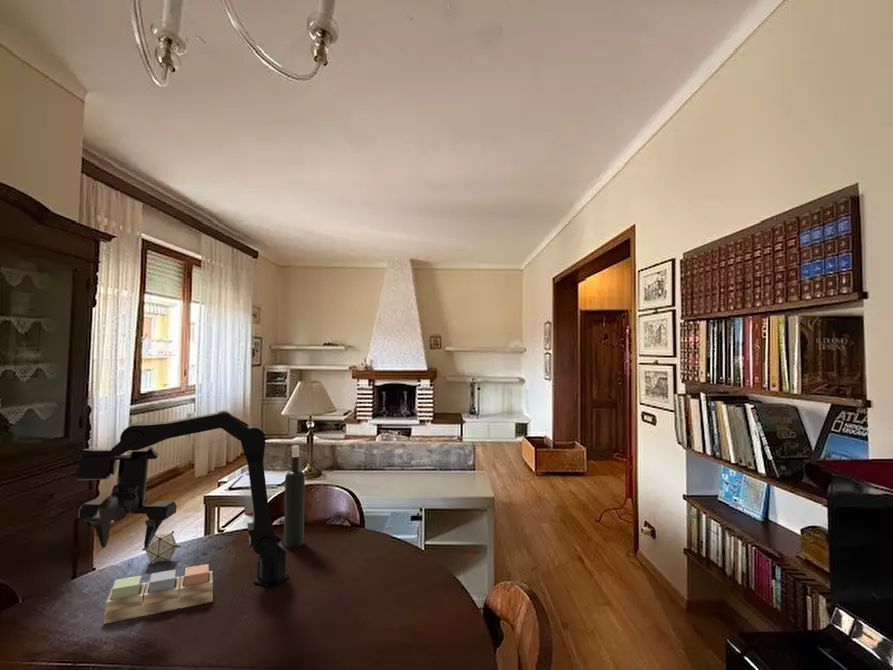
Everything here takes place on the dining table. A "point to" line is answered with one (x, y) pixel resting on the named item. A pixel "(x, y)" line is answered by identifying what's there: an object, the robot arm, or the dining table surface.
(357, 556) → the dining table surface
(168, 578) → the slate button
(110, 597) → the console
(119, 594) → the sage button
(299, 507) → the wine bottle
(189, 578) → the terracotta button
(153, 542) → the game die
